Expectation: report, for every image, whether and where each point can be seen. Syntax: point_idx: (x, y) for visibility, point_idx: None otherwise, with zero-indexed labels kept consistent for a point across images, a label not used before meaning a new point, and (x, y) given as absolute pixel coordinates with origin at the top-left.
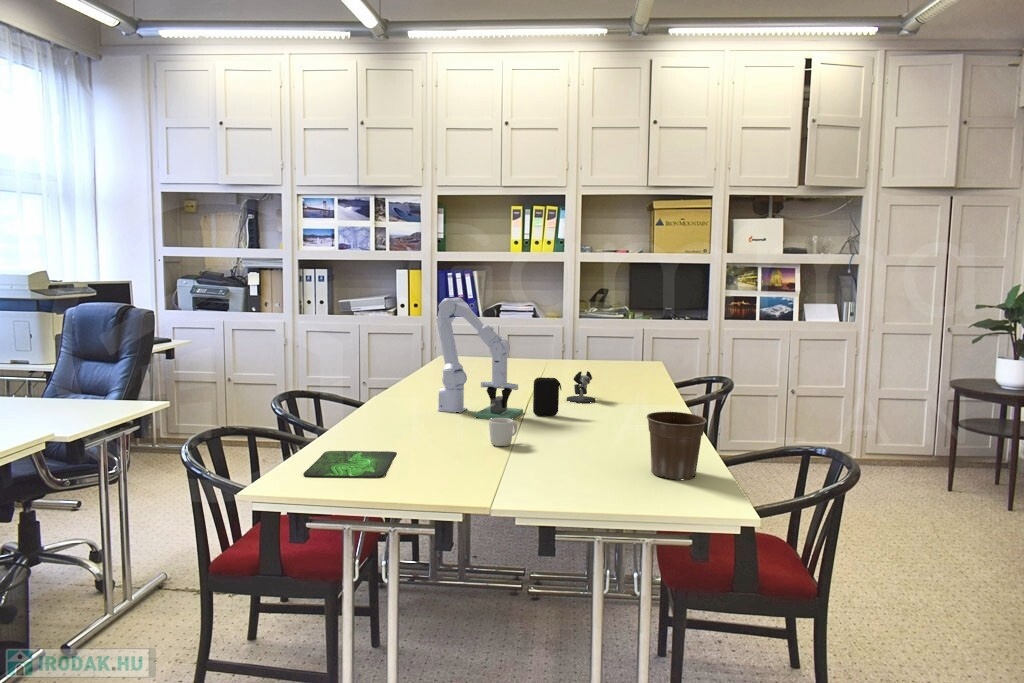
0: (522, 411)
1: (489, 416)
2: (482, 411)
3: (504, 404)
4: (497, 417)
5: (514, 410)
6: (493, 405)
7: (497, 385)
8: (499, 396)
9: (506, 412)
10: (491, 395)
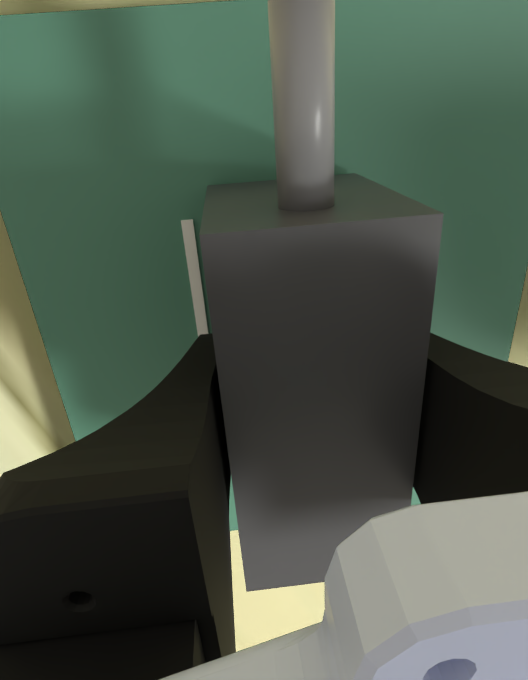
0: None
1: None
2: (489, 225)
3: (185, 356)
4: (159, 9)
5: None
6: (268, 13)
7: (414, 600)
8: None
9: (175, 326)
10: (492, 383)
